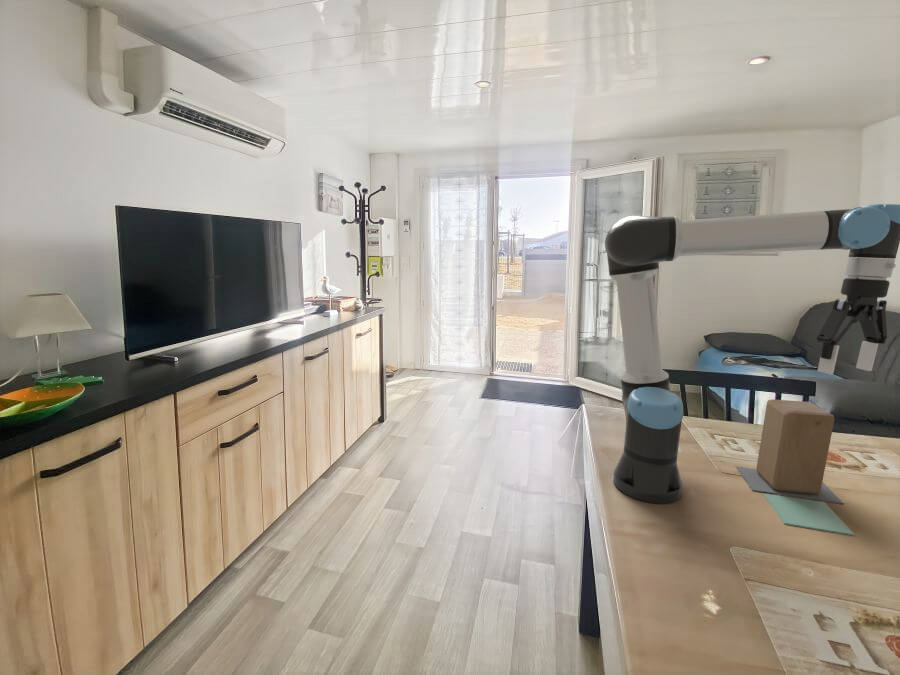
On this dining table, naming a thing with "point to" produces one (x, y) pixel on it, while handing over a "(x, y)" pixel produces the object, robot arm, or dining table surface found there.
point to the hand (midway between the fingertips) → (844, 371)
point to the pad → (807, 514)
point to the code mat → (762, 486)
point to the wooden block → (794, 446)
